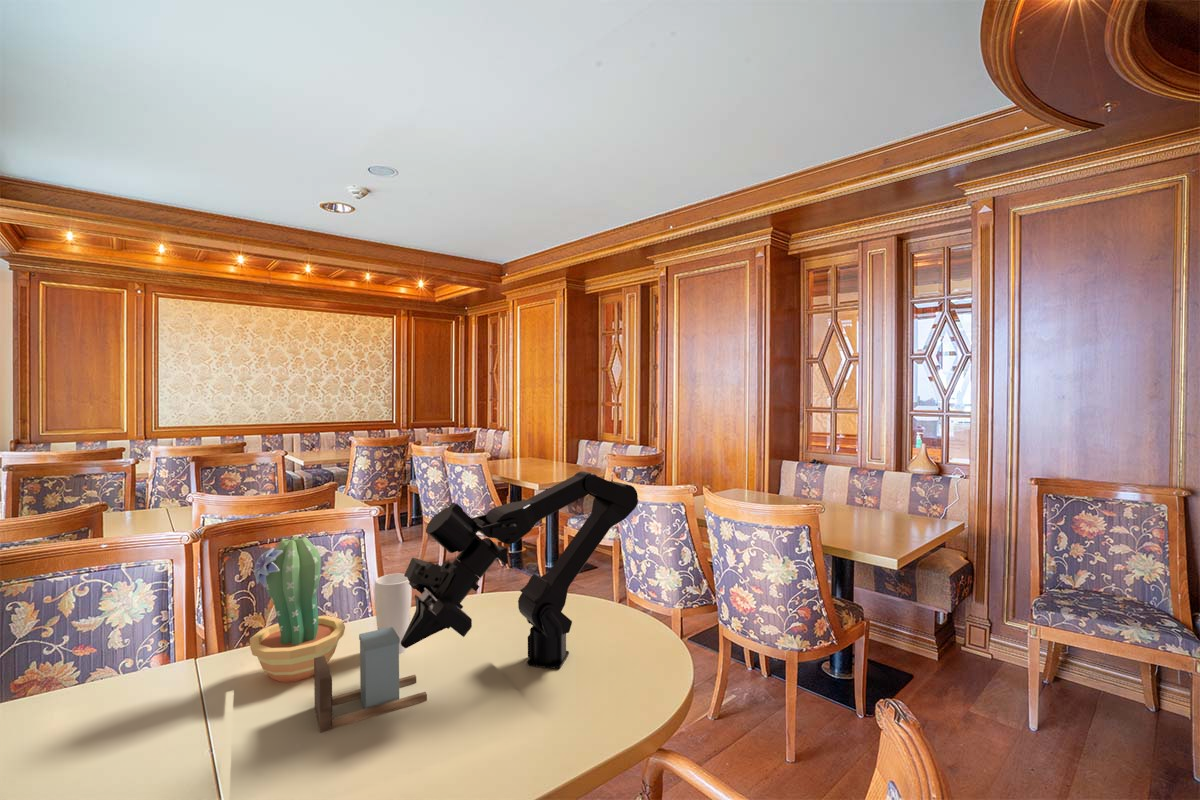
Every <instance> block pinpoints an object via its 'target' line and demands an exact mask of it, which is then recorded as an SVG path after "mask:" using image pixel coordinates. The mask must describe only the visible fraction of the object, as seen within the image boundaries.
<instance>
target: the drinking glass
mask: <svg viewBox="0 0 1200 800" xmlns="http://www.w3.org/2000/svg"><path fill="white" fill-rule="evenodd" d="M404 575H405V573H390V574H385V575H382V576H379V577H378V578H376V579H375V580H374V609H375V610H374V611H375V619H376V627H377V628H376V629H377V630H380V629H385V628H390V627H393V629H394V630H395V632H396V633H397V635H398V636H399V638H400V643H399V655H401V654H404V653H405V652H407V651H408V649H409V647H408V648H404V647H403V646H402V645H401V641H402V639H403V637H404V635H405V633H406V631H407V628H408V626H409V624H410V622H411V612H412V611H411V609H412V595H413V593H412V592H413V591H412V590H413V588H412V587H411V586H410V584H409V582H410V581H408V578H407V577H405V576H404Z"/></svg>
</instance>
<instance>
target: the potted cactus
mask: <svg viewBox="0 0 1200 800" xmlns="http://www.w3.org/2000/svg"><path fill="white" fill-rule="evenodd" d="M321 564H322V555H321V554H320V552H319V550H318V548H316V546H315V545H314V544H313V543H312V542H311V541H310V540H309V539H308V538H307V537H306V536H305V535H304V536H302V537H298V536H295V535H294V536H293V537H291V538H290V539H288V538H282V539H281V540H280V542H278V545H277V546H276V548H275V547H272V548H271V549H269V550H266V551H265V552H263V554H260V556H259V557H258V559H257V560H256V563H255V564H254V566H253V567H254V568H253V572H254V573H253V575H254V577H255V583H256V584H257V585H258V584H259V583H260V584H261V585H262V586H263V587H264V588H266V592H267V594H268V596H269V597H270V599H271V601H272V603H273V605H274V609H275V615H276V619H277V623H274V624H272V625H269V626H266V627H263V628H261V629H260V630H259V631H258V632H256V633H255V634H254V635H252V636H251V637H250V638H249V647H250V650H251V654H252V656H255V657H257V660H258V662H259V664H260V666H261V668H262V670H263V671H264V672H265V674H267V675H268V676H269V677H270V678H271V679H272V680H275V681H278V682H279V683H280V682H281V683H282V682H283V683H285V682H290V683H291V682H297V681H301V680H304V679H305V680H306V679H308V678H311V677H314V658H317V657H321V656H325V659H326V662H327V664H328V663H329V661H330V660H331V659H332V657H333V656H334V654H335V652H336V648H337V646H338V644H339V640H340V639H341V638H342V637H343V636H344V635H345V630H346V625H345V623H344V621H343V619H341V618H338V617H335V616H334V617H333V616H329V615H319V612H318V610H319V607H318V598H317V594H318V593H317V592H318V588H319V584H320V580H321V570H322V567H321V566H322V565H321Z"/></svg>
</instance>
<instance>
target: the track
mask: <svg viewBox="0 0 1200 800" xmlns="http://www.w3.org/2000/svg"><path fill="white" fill-rule="evenodd" d="M313 677H314V678H313V680H314V684H313V685H314V686H313V687H314V688H313V689H314V695H313V696H314V711H315V716H316V719H317V724H318V730H319V733H320V734H321V733H323V732H328V731H331V730H332V729H334V728H338V727H342V726H345V725H347V724H351V723H355V722H359V721H361V720H364V719H369V718H372V717H375V716H378V715H382V714H386V713H388V712H392V711H395V710H399V709H402V708H406V707H408V706H412V705H415V704H419V703H422V702H426V701H428V693H427V691H423V692H418V693H415V694H413V695H408V696H405V697H401V698H399V699H397V700H394V701H390V702H387V703H383V704H380V705H376V706H373V707H369V708H366V709H364V708H361V709H359V710H356V711H352V712H349V713H346V714H340V715H339V716H335V717H333V706H334V707H335V706H336V705H340V704H344V703H348V702H351V701H355V700H359V699H361V689H360V688H359V689H355V690H351V691H348V692H344V693H341V694H340V693H339V694H337V695H333V677H332V675H331V671H330V668H329V665H328V663H327V662H326V659H325V656H321V657H317V658H314V675H313ZM414 684H417V675H416V674H412V675H407V676H405V677H399V688H402V687H406V686H409V685H414Z"/></svg>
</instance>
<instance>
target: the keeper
mask: <svg viewBox="0 0 1200 800" xmlns="http://www.w3.org/2000/svg"><path fill="white" fill-rule="evenodd" d="M358 637H359V638H358V640H359V662H360V663H359V664H360V665H359V666H360V667H359V668H360V670H359V671H360V672H359V675H360V677H359V678H360V681H359V684H360V688H359V689H361V698H360V701H361V703H362V705H363V709H366V708H369V707H373V706H376V705H380V704H383V703H387V702H390V701H394V700H397V699H400V687H399V679H400V654H399V643H400V638H399V636H398V635H397V633H396V632H395V630H394V629H393V627H390V628H385V629H380V630H371V631H367V632H363V633H359V634H358Z"/></svg>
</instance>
